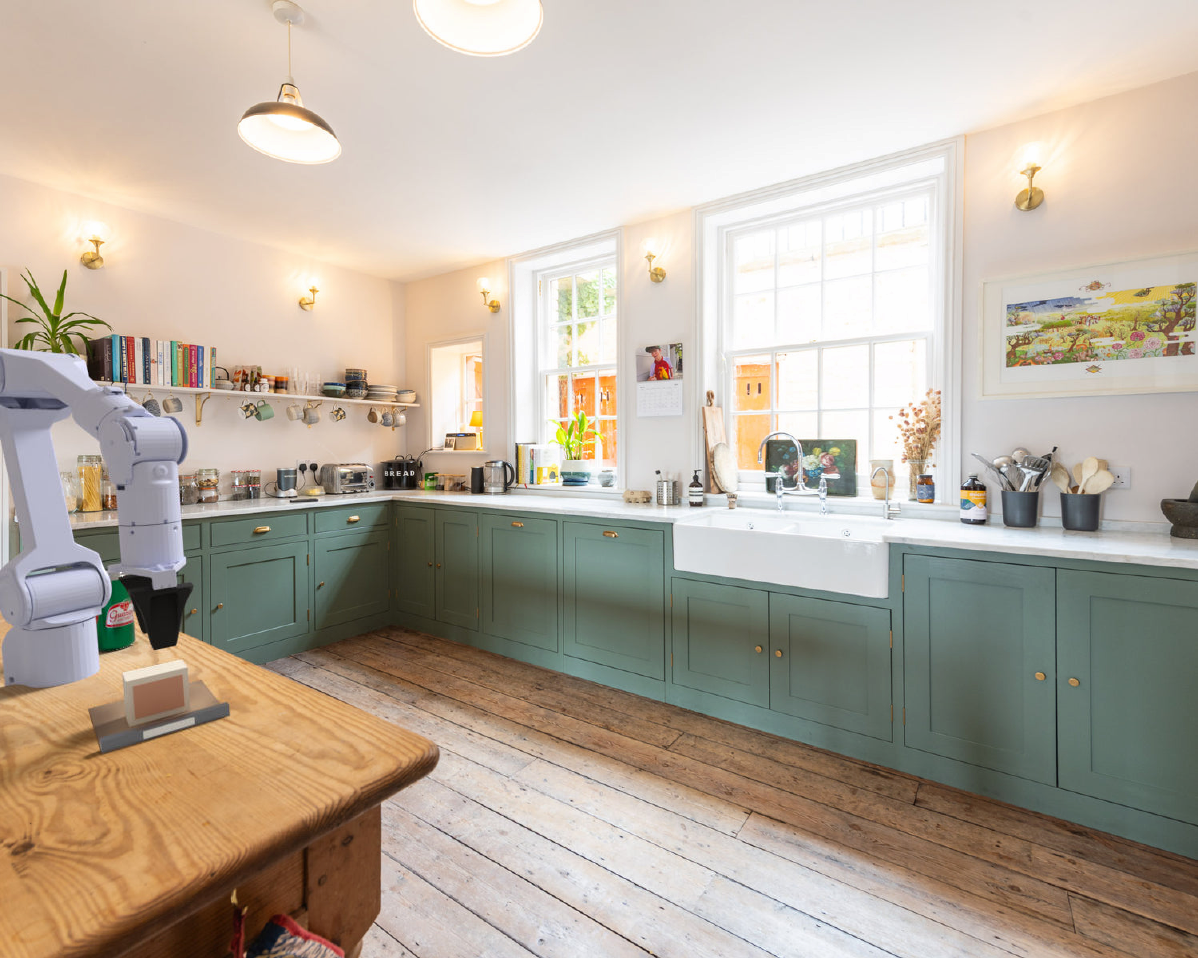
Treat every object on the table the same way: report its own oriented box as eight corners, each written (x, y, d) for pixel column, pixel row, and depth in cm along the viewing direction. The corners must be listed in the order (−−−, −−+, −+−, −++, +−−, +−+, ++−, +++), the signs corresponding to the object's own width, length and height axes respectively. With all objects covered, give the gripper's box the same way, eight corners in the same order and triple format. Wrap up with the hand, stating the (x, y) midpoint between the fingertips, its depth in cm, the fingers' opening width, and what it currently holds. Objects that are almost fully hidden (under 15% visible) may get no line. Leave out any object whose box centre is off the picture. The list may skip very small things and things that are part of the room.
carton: (129, 727, 64) (126, 682, 63) (125, 716, 66) (122, 672, 66) (190, 710, 67) (187, 667, 67) (184, 700, 70) (181, 659, 70)
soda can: (112, 653, 90) (106, 576, 89) (85, 651, 91) (79, 575, 90) (144, 642, 95) (138, 568, 94) (118, 640, 96) (112, 567, 95)
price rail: (101, 753, 58) (101, 741, 58) (100, 749, 59) (99, 737, 59) (230, 715, 66) (229, 704, 66) (227, 712, 67) (226, 701, 67)
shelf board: (103, 767, 58) (101, 753, 58) (89, 721, 68) (88, 708, 68) (230, 727, 66) (229, 714, 66) (201, 691, 76) (201, 679, 76)
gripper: (98, 520, 70) (107, 633, 71) (112, 534, 59) (122, 665, 60) (171, 514, 75) (178, 619, 76) (196, 525, 64) (204, 647, 65)
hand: (158, 639), depth 68 cm, fingers open, 7 cm apart
